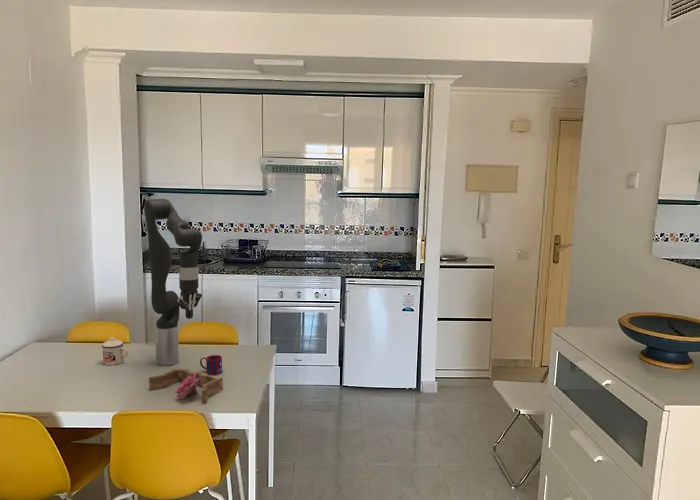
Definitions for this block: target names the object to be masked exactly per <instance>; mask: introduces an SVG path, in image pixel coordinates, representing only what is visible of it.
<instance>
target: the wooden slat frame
mask: <svg viewBox="0 0 700 500" xmlns="http://www.w3.org/2000/svg"><path fill="white" fill-rule="evenodd" d="M194 374H196V379H198V378H199V377H201V378H202V379H203V381H202V382H201V384H199V385H198V386H197V387H201V403H202V404H207V402H208V399H209V398H210V397H212V396H214V395H215V394H218V393H219V392H221V391H223V390H224V377H221V376H217V375H209V374H207V373H203V372H198V371H195V370H194V371H193V370H189V369H185V368H181V367H176V368H174V369H171V370H169V371H167V372H165V373H162V374H160V375H155V376H153V375H152V376H149V377H148V382H149V383H148V384H149V385H148V386H149V391H154V390H159V389H165V388H167V387H169V386H171V385H174V384H175V383H182V382H183V381H184V380H185V379H186V378H187V377H188V376H191V377H192V376H194Z"/></svg>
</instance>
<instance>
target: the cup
mask: <svg viewBox="0 0 700 500" xmlns="http://www.w3.org/2000/svg"><path fill="white" fill-rule="evenodd" d="M203 359H204V360H205V361H206V362H205V363H206V365H205V366H204V365H203ZM199 364H200V366H201V368H202V369H204V370H206V374H208V375H213V376H217V375H220V374H222V373H223V357H222V355H220V354H211V355H208V356H206V357H201V358H200V361H199Z"/></svg>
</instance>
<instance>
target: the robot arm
mask: <svg viewBox="0 0 700 500" xmlns="http://www.w3.org/2000/svg"><path fill="white" fill-rule="evenodd" d="M143 204H144V205H143V206H144V207H143V210H144V211H143V212H144V218H145V219H144V220H145V224H146V230H147V231H146V232H147V238H148V255H149V264H150V276H151V277H150V278H151V280H150V281H151V291H150V292H151V295H150V300H151V307H152V310H153V311H154V312H155V313H156V314H158V315H161V316H160V317H159V318H158V319H157V320H156V324H155V326H156V342H155V363H156V364H158V366H173V365H177V364H178V363H180V359H179V358H180V356H179V355H180V354H179V353H180V352H179V326H178V324H179V319H180V308H181V310H184V311H185V317H186V319H189V320H190V319H193V318H194V317H193V316H194V309H195V308H196V307H197V306H198V305H199V303H200V300H201V298H202V295H203V294H202V293H199V291H198V289H199V288H200V287H199V267H198V266H199V265H198V263H199V261H198V260H199V252H200V249H201V245H202V242H203V234H202V232H201V230H200V229H199V228H190V226H189V225H188V223H186V221H184V220H183V219H182V218H181V217H180V215H179V214H178V211H177V210H176V209H175V207H174V205H173V204H172V202H171V201H170V200H169V199H167V198H151V199H150V198H149V199H146V200H145V201H144V203H143ZM162 220H166V228H167V230H168V231H169V232H170V233H171V234H172V235H173V237H174V241H175V244H176V245H177V246H178V247H179V246H180V247H189V249H188V250H185V251H182V252H181V253H180V254H179V271H178V273H179V277H178V278H179V279H178V280H179V282H178V283H179V289H180V293H179V295H178V294H177V292H175V291H173V290H167V288H166V287H167V278H168V276H169V273H170V272H171V271H170V270H171V268H172V261H173V259H172V250H171V246H170V245H169V244H168V242H167V241H166V239H165V238H164V237H163V236H162V234H161V233H160V231H159V229H158V226H157V222H156V221H162Z"/></svg>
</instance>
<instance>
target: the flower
mask: <svg viewBox="0 0 700 500" xmlns="http://www.w3.org/2000/svg"><path fill="white" fill-rule="evenodd" d="M202 381H203V379H202V378H201V377H199V378H198V379H196V374H194V376H192V377H191V376H188V377H187V378H186V379H185V380H184V381H183V382H180V386H179V387H177V388H176V391H175V394H177V395H176V398H175V399H177V400H182V399H184V398H186V397H188V396H191V395H192V394H193V395H197V396H200V394H199V393H198V390H197V387H199V386H198V385H199V384H201V382H202Z"/></svg>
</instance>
